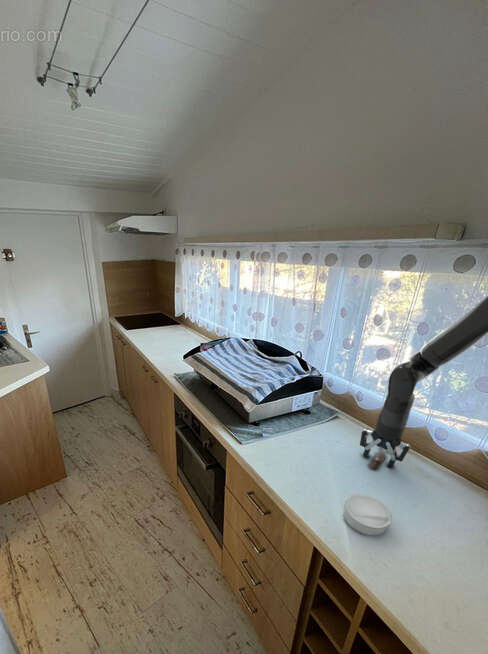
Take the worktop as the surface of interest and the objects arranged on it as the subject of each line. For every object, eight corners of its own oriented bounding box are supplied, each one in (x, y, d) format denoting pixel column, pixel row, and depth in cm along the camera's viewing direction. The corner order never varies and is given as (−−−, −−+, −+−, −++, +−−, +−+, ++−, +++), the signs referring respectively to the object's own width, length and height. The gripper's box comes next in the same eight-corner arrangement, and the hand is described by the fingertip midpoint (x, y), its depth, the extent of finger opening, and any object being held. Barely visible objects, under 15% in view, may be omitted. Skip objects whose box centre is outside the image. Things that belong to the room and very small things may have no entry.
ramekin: (366, 547, 76) (371, 533, 74) (331, 515, 85) (335, 501, 83) (396, 531, 80) (402, 518, 78) (359, 502, 89) (364, 489, 87)
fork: (383, 446, 113) (385, 441, 112) (391, 449, 111) (393, 443, 110) (366, 471, 101) (368, 465, 100) (374, 474, 100) (376, 468, 98)
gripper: (422, 424, 94) (404, 466, 102) (371, 408, 103) (358, 448, 111) (416, 434, 89) (398, 478, 97) (363, 416, 98) (351, 457, 106)
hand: (377, 462), depth 104 cm, fingers open, 6 cm apart
